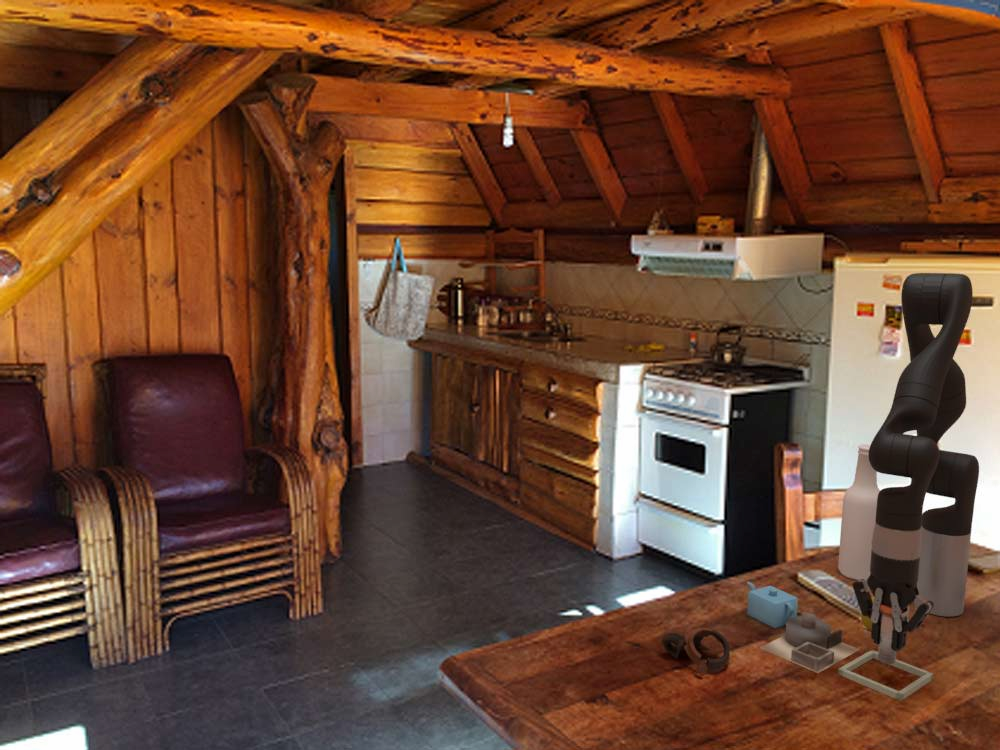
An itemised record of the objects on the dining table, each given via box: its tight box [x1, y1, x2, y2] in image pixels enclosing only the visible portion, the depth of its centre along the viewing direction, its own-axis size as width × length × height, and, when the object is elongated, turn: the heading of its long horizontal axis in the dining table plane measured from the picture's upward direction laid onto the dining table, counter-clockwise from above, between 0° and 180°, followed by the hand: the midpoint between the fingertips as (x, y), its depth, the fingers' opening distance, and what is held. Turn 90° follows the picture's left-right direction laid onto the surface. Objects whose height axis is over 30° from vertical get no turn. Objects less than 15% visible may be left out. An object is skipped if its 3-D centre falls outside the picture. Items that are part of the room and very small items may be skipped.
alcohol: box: [837, 443, 881, 581], centre depth 201 cm, size 9×9×30 cm
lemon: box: [860, 596, 874, 632], centre depth 173 cm, size 6×6×8 cm
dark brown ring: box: [661, 627, 731, 680], centre depth 160 cm, size 12×10×8 cm
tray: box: [837, 649, 935, 702], centre depth 155 cm, size 11×11×2 cm
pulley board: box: [759, 612, 861, 674], centre depth 165 cm, size 14×12×6 cm
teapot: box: [746, 581, 799, 629], centre depth 178 cm, size 12×6×8 cm, turn 31°
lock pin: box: [877, 604, 903, 665], centre depth 153 cm, size 4×4×10 cm
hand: (887, 645), depth 154 cm, fingers closed on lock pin, 2 cm apart
